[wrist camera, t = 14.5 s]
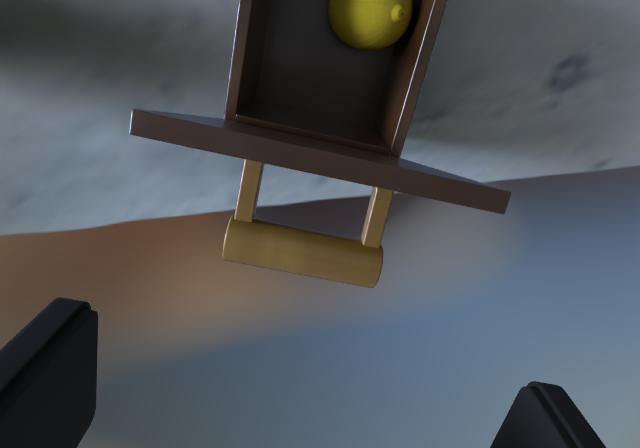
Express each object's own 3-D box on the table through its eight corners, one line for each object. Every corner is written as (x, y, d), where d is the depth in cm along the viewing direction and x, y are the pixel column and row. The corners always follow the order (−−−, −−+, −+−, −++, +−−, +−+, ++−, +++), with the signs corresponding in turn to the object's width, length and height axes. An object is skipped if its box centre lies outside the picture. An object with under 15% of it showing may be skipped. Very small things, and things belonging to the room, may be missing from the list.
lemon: (309, -31, 32) (369, -33, 26) (369, -34, 34) (438, -36, 28) (312, 47, 35) (367, 62, 29) (367, 40, 37) (429, 52, 31)
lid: (131, 108, 13) (113, 260, 14) (512, 192, 14) (469, 326, 15) (222, 118, 28) (210, 190, 29) (401, 158, 30) (383, 226, 31)
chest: (275, -87, 33) (258, -146, 23) (427, -47, 34) (473, -85, 24) (246, 104, 39) (222, 123, 29) (377, 133, 40) (398, 162, 30)
